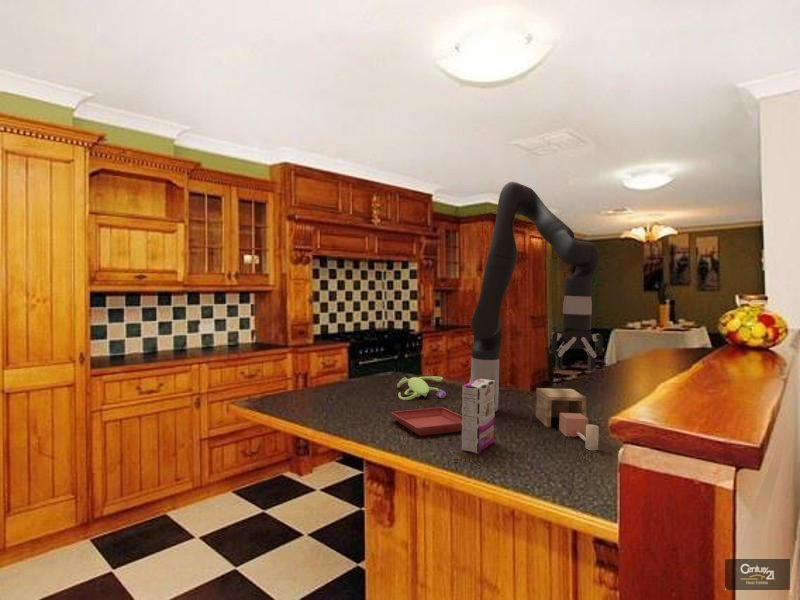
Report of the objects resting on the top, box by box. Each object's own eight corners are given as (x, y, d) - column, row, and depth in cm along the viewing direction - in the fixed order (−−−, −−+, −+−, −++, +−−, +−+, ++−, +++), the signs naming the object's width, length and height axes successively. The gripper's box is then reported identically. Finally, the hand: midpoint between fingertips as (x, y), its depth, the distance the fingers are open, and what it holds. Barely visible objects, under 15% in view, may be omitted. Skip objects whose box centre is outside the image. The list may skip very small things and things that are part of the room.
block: (581, 451, 118) (582, 427, 118) (559, 430, 136) (559, 409, 136) (605, 451, 118) (606, 428, 118) (579, 430, 136) (580, 409, 136)
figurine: (441, 387, 195) (441, 373, 195) (449, 402, 168) (450, 386, 168) (396, 386, 194) (397, 372, 194) (398, 401, 168) (398, 386, 167)
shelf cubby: (546, 427, 139) (547, 396, 139) (535, 416, 151) (536, 388, 151) (585, 428, 139) (586, 397, 139) (571, 417, 151) (572, 389, 151)
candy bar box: (477, 438, 126) (478, 377, 126) (494, 442, 124) (496, 380, 123) (459, 450, 117) (461, 384, 116) (478, 454, 114) (480, 387, 114)
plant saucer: (390, 422, 142) (390, 411, 142) (442, 416, 149) (442, 406, 149) (416, 439, 125) (417, 427, 125) (474, 433, 133) (474, 421, 133)
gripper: (555, 312, 128) (553, 371, 129) (608, 314, 128) (606, 373, 129) (547, 311, 136) (545, 367, 136) (597, 312, 136) (595, 368, 136)
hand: (575, 370), depth 132 cm, fingers open, 8 cm apart
